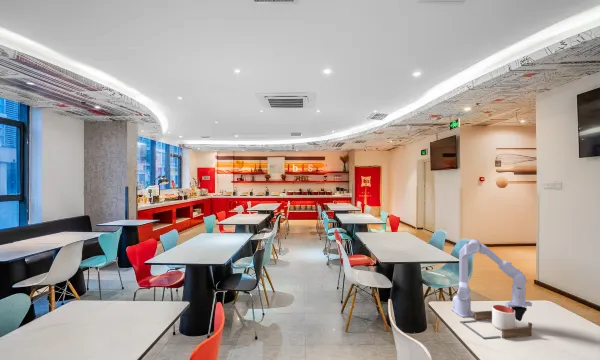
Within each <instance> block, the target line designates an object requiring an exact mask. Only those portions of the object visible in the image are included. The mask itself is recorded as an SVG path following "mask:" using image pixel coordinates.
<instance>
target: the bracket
mask: <svg viewBox="0 0 600 360" xmlns="http://www.w3.org/2000/svg"><path fill="white" fill-rule="evenodd" d="M475 322H476V323H477V322H478V321H476V320H475V319H472V320H459V323H461V324H462V325H463V326H465V327H466V328H468V329H469V330H470V331H471V332H473V333H474V334H476V335H477V336H479V337H481V338H482V339H483V340H488V339H489V340H491V339H492V340H493V339H500V338H502V336H500V335H493V336H483V335H482V334H480V333H479V331H478V332H477V331H476V330H475V329H474V328H472V327H470V326H469V325H467V324H466V323H475Z"/></svg>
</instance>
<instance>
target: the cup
mask: <svg viewBox="0 0 600 360" xmlns="http://www.w3.org/2000/svg"><path fill="white" fill-rule="evenodd" d="M491 311H492V320H491V324H492V326H493V327H495V329H498V330H500V331H502V329H503V328H515V327H516V318H515V310H513V309H512V308H511V307H510V308H507V307H505V305H502V304H493V305H492V307H491Z"/></svg>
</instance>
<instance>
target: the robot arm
mask: <svg viewBox="0 0 600 360" xmlns="http://www.w3.org/2000/svg"><path fill="white" fill-rule="evenodd" d="M477 253H478V254H480V255H485V256H487V257H488V258H489V259H490V260H492V261H493V262H494V263H495V264H497V265H498V269H499V270H500V271H502V272H503V273H504V274H505V275H507V277H509V278H511V279H512V285H511V286H512V287H511V300H510V301H507V302H505V303H504V306H505V307H507V308H512V309H513V310H515V321H516V320H517V321H518V322H520V321H522V319H523V317H524V314H525V313H526V311H527V310H528V308H527V307H533V302H531V301H526V295H527V293H526V288H527V287H526V283H527V281H528V280H527V278H526V276H525V274H524V273H523V272H522V271H521V270H520V269H518V268H517V267H515V266H514V265H512V264H513V263H512V262H510V261H507V260H503V259H501V258H500V257H499V256H498V255H497V254H496V253H495V252H494V251H492V250H491V249H490V248H489V247H488V246H487V245H485V244H484V242H483V243H482V242H480V240H478V239H477V238H471V239H469V240H468V241H466V242H465V244H464V245H463V246H462V247H461V248H460V250H459V251H458V260H459V262H458V266H459V267H458V269H459V270H458V274H459V275H458V276H459V277H458V287H457V291H456V292H457V293H456V295H454V296H453V298H452V308H451V311H453V312H454V313H455V314H457V315H458V316H460V317H461V318H470V317H475V314H473V313H472V311H471V310H472V309H471V307H472V306H471V305H472V302H471V300H472V299H471V297H470V295H471V288H470V286H469V256H471V255H474V254H477Z"/></svg>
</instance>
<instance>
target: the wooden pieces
mask: <svg viewBox="0 0 600 360" xmlns="http://www.w3.org/2000/svg"><path fill="white" fill-rule="evenodd" d="M474 320H476V321H477V322H478V321H492V310H482V311H474ZM532 327H533V323H532V322H528V323H527V326H517V327H516V326H515V328H503V329H502V330H501V338H502V339H503V340H505V339H517V338H525V337H526V338H528V337H532V336H533V333H532V331H533V328H532Z"/></svg>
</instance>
